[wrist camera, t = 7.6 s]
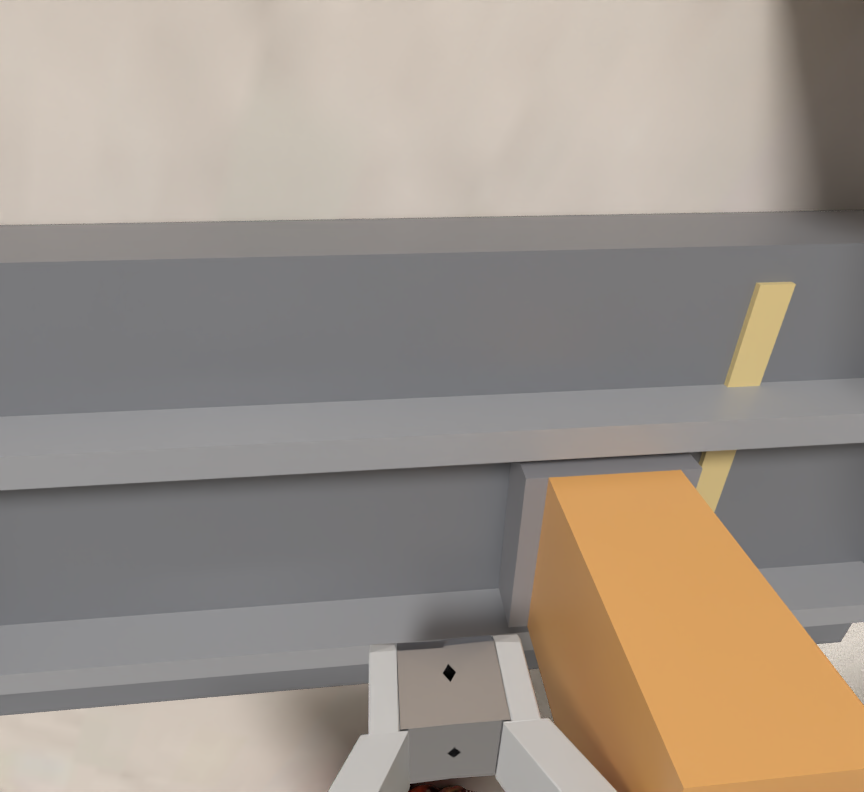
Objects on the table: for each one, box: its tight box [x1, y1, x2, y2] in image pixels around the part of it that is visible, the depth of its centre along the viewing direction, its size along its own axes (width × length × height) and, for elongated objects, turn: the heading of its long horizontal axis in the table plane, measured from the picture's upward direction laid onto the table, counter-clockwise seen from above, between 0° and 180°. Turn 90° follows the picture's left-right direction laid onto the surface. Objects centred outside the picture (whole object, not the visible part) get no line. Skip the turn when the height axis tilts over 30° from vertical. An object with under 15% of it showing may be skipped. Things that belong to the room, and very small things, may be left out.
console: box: [0, 210, 864, 716], centre depth 15 cm, size 14×29×5 cm, turn 90°
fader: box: [499, 452, 864, 792], centre depth 11 cm, size 5×4×7 cm
